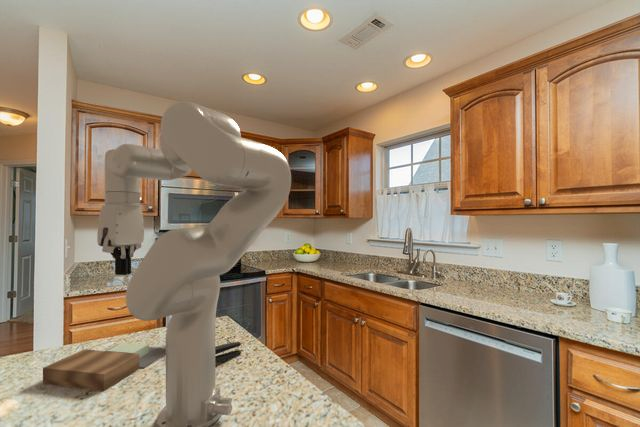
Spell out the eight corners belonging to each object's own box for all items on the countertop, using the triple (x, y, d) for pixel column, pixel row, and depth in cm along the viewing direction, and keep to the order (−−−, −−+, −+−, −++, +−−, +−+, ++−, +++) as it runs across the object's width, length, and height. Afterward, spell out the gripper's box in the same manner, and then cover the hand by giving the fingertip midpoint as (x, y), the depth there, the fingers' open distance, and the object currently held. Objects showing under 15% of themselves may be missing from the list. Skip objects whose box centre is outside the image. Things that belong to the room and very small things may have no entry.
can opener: (193, 381, 79) (193, 359, 79) (179, 373, 83) (178, 352, 83) (249, 356, 93) (248, 337, 93) (234, 350, 97) (234, 332, 97)
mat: (172, 350, 97) (172, 349, 97) (143, 368, 85) (144, 367, 85) (117, 345, 101) (117, 344, 101) (82, 362, 89) (82, 361, 89)
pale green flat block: (133, 353, 89) (133, 361, 89) (148, 344, 95) (148, 352, 95) (106, 350, 90) (106, 359, 90) (123, 342, 96) (123, 350, 96)
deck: (139, 369, 85) (139, 354, 85) (104, 391, 74) (104, 374, 74) (84, 363, 88) (84, 349, 88) (42, 383, 78) (42, 367, 78)
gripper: (133, 202, 86) (133, 269, 86) (82, 199, 71) (82, 279, 71) (157, 201, 84) (157, 269, 84) (110, 198, 70) (110, 280, 69)
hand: (123, 274), depth 78 cm, fingers closed
